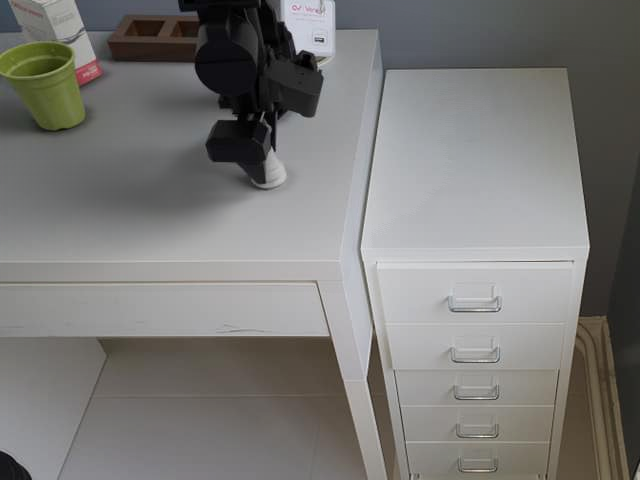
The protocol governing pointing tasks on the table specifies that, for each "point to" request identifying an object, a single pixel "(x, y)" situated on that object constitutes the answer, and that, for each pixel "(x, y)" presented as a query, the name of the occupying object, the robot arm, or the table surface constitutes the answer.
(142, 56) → the wooden compartment tray
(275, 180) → the rook chess piece
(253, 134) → the robot arm
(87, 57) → the ink box
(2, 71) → the plant pot
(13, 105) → the table surface
